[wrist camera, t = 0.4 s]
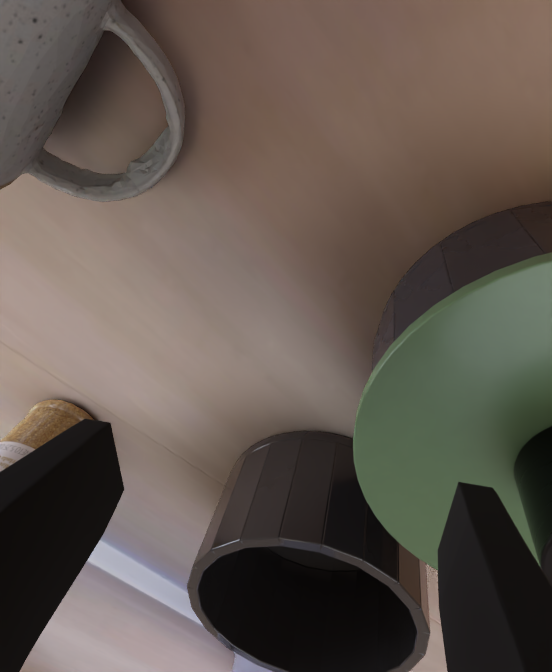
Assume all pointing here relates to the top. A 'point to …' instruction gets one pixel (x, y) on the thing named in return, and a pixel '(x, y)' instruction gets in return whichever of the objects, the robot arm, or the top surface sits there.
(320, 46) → the top surface
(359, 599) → the cup
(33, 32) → the ceramic mug
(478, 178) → the top surface
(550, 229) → the tin
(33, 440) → the sprinkles bottle
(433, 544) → the lid
